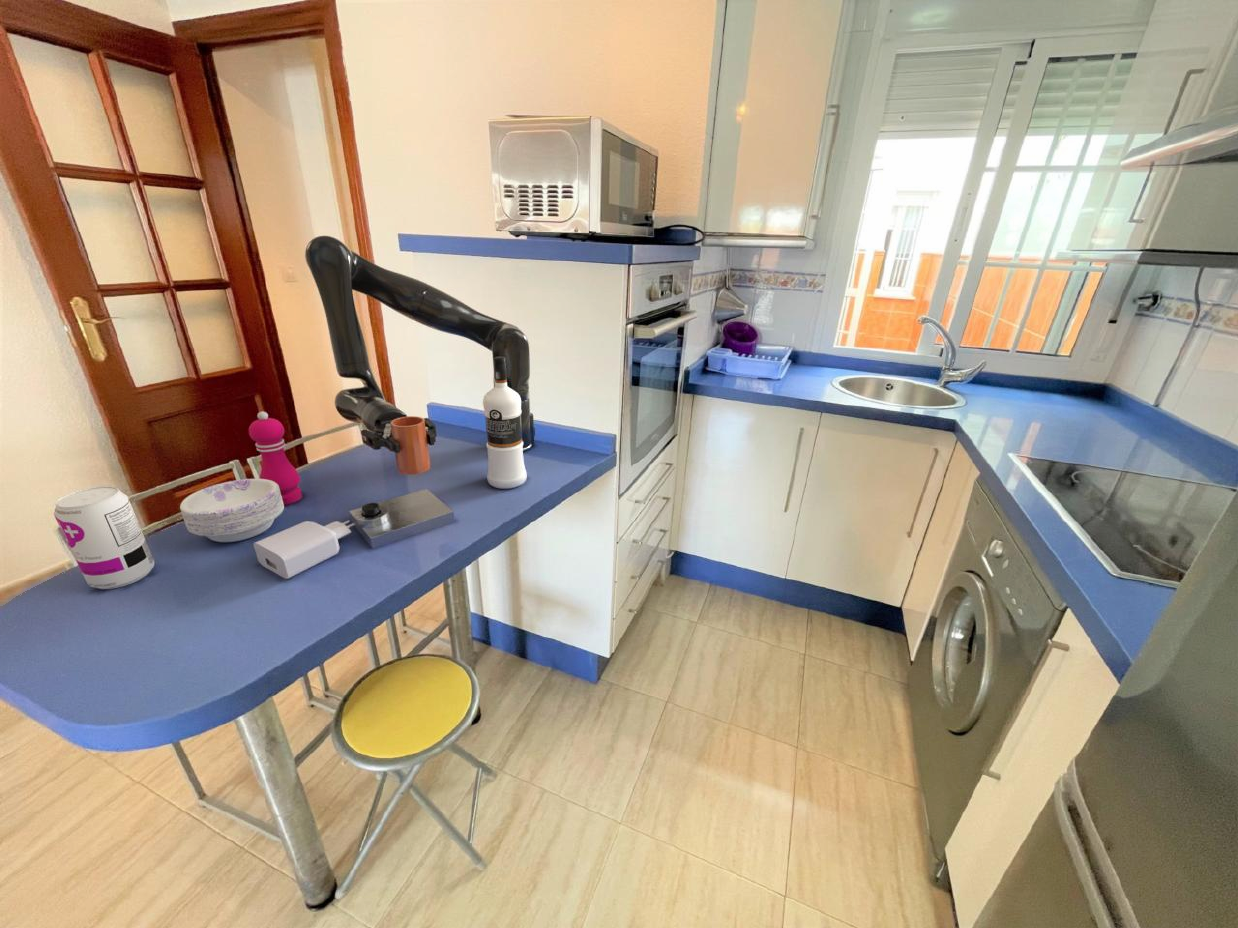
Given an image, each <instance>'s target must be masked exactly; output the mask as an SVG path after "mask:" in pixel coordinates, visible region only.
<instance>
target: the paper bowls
mask: <svg viewBox="0 0 1238 928" xmlns="http://www.w3.org/2000/svg"><path fill="white" fill-rule="evenodd" d="M284 509H285V505H284V504H283V500H282V496H281V492H280V489H279V486H278V484H277V483H275V482H274V481H271V480H266V479H260V478H244V479H243V478H242V479H236V480H229V481H225V482H221V483H217V484H213V485H209V486H207V487H205V488H202V489H199V490H197V491H195V492H193V493H191V494H190V495H188V496H187V497H185V498H184V499H183V500H182V501H181V502H180V505H179V510H180V513H181V515H182V519H183V522H184V524H185V527H186V529H187V531H188V532H189V533H191V534H192V535H196V536H199V537H206V538H207V539H210V540H211V541H213V542H218V543H233V542H240V541H245V540H248V539H251V538H253V537H256V536H258V535H259V536H260V534H263V533H264V532H266V531H268V530H269V528H271V527H272V525H273V523H274V520H275V519H276V518H278V517H279V516H280V515H282V514H283V512H284Z"/></svg>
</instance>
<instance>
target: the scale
mask: <svg viewBox="0 0 1238 928" xmlns="http://www.w3.org/2000/svg"><path fill="white" fill-rule="evenodd" d="M376 503H377V504H378V505H379V509H380V514H379V515H377V516H374V517H368V518H366V517H364V516H363V512H362V507H359V508H355V509H351V510H349V511H348V513H349V518H350V522H351V524H353V523H355V525H354V526H353V527H355V528H356V530H357V531H358V532H359V533H360V535H361V536H362V537H363V539H364V540H365V541H366V542H367V544H368V545H369V546H370V547H371V549H372V550H374V549H377V548H380V547H383V546H386V545H388V544H391V543H395V542H398V541H400V540H403V539H406V538H408V537H412V536H415V535H418V534H421V533H423V532H427V531H429V530H432V529H435V528H438V527H441V526H445V525H448V524H450V523H453V522H455V516H454V511H453V510H452V509H451V508H450V507H449V506H448V505H446V504H445V503H444V502H443V501H442V500H441V499H439V498H438V497H437V496H436V495H435V494H433V492H431V490H429V489H428V488H425V489H422V490H418V491H414V492H411V493H408V494H404V495H400V496H397V497H394V498H390V499H387V500H383V501H379V502H376Z"/></svg>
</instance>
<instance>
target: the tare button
mask: <svg viewBox="0 0 1238 928" xmlns="http://www.w3.org/2000/svg"><path fill="white" fill-rule="evenodd" d="M377 503H378V502H370V503H369V502H368V503H365V504H364V505H362V506H361V508H362V512H363V516H364V517H366V518H368V517H374V516H377V515H379V514H380V509H379V505H378V504H377Z"/></svg>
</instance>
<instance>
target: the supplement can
mask: <svg viewBox="0 0 1238 928" xmlns="http://www.w3.org/2000/svg"><path fill="white" fill-rule="evenodd" d="M53 516H54V518H55V520H56V523H57V524H58V526H59V528H60V530H61V532H62V535H63V537H64V539H65V540H66V542H67V544H68V547H69V549H70V551H71V553H72V555H73V557H74V559H75V561H76V563H77V565H78V568H79V570H80V572H81V573H82V576H83V577H84V579H85V582H86V584H87V585H88V586H89V587H91V588H95V589H100V590H112V589H118V588H122V587H126V586H128V585H131V584H133V583H136V582H138V581H140V580H142V579H143V578H145V577H146V576H148V574H150V572H151V571H152V569H153V568H154V567H155V560H154V557H153V555H152V552H151V550H150V547H149V545H148V543H147V541H146V538H145V536H144V533H143V530H142V528H141V526H140V523H139V521H138V518H137V516H136V514H135V512H134V508H133V506H132V504H131V502H130V499H129V496H128V495H126V494H125V493H124V492H122V491H120V489H119V488H118V487H116V486H110V485H107V486H102V485H101V486H95V487H90V488H85V489H81V490H80V489H79V490H77V491H74V492H70V493H68V494H66V495H64V496H62V497H60V498H59V499H57V500H56V502H55V508H54V511H53Z"/></svg>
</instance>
